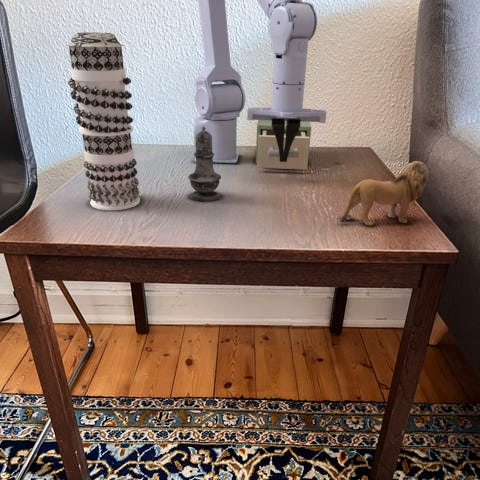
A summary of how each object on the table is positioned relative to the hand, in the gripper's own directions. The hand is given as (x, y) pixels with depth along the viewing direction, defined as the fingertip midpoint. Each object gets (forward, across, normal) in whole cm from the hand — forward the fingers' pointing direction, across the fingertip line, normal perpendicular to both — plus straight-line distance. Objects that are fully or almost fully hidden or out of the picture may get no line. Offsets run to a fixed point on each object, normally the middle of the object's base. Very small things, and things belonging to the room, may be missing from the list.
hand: (283, 160), depth 91 cm
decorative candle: (+4, -29, -17) cm, 34 cm away
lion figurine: (+4, +16, -20) cm, 26 cm away
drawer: (+3, 0, +10) cm, 10 cm away
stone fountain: (+4, -14, -12) cm, 19 cm away
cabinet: (+4, 0, +19) cm, 20 cm away
